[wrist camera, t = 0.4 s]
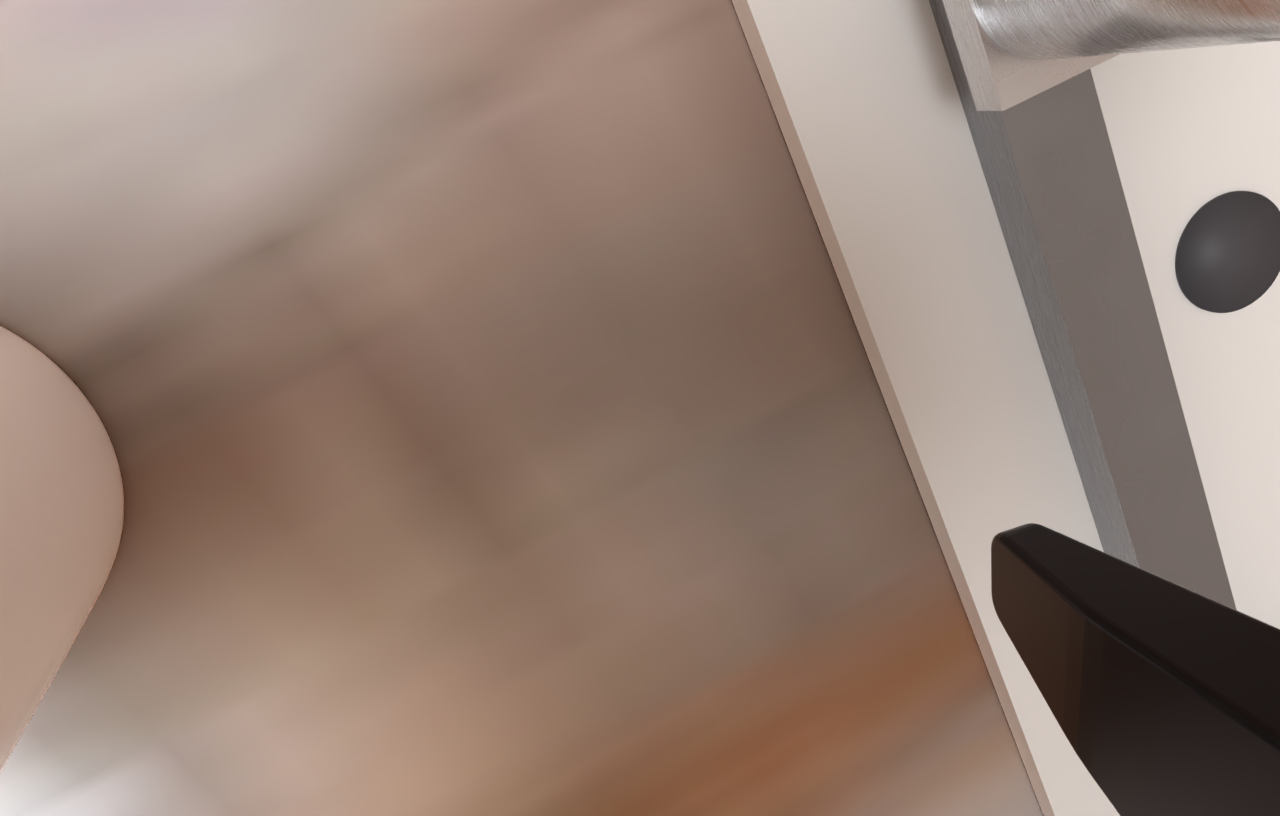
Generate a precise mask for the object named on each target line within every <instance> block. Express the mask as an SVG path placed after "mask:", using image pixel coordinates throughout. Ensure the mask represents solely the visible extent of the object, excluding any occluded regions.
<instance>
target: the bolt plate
mask: <svg viewBox="0 0 1280 816" xmlns="http://www.w3.org/2000/svg"><path fill="white" fill-rule="evenodd" d="M732 3H733V5H734V8H735V11H736V13H737V16H738V19H739V21H740V24H741V26H742V29H743V32H744V34H745V37H746V39H747V42H748V45H749V47H750V50H751V53H752V55H753V58H754V60H755V63H756V66H757V68H758V71H759V73H760V76H761V79H762V81H763V84H764V86H765V89H766V92H767V94H768V97H769V100H770V102H771V105H772V107H773V110H774V113H775V115H776V118H777V120H778V123H779V126H780V128H781V131H782V134H783V136H784V139H785V141H786V144H787V147H788V149H789V152H790V154H791V157H792V160H793V162H794V165H795V167H796V170H797V173H798V175H799V178H800V181H801V183H802V186H803V188H804V191H805V194H806V196H807V199H808V201H809V204H810V207H811V209H812V212H813V215H814V217H815V220H816V222H817V225H818V228H819V230H820V233H821V235H822V238H823V241H824V243H825V246H826V248H827V251H828V254H829V256H830V259H831V262H832V264H833V267H834V269H835V272H836V275H837V277H838V280H839V282H840V285H841V288H842V290H843V293H844V296H845V298H846V301H847V303H848V306H849V309H850V311H851V314H852V316H853V319H854V322H855V324H856V327H857V329H858V332H859V335H860V337H861V340H862V343H863V345H864V348H865V350H866V353H867V356H868V358H869V361H870V363H871V366H872V369H873V371H874V374H875V377H876V379H877V382H878V384H879V387H880V390H881V392H882V395H883V397H884V400H885V403H886V405H887V408H888V411H889V413H890V416H891V418H892V421H893V424H894V426H895V429H896V431H897V434H898V437H899V439H900V442H901V444H902V447H903V450H904V452H905V455H906V458H907V460H908V463H909V465H910V468H911V471H912V473H913V476H914V478H915V481H916V484H917V486H918V489H919V492H920V494H921V497H922V499H923V502H924V505H925V507H926V510H927V512H928V515H929V518H930V520H931V523H932V525H933V528H934V531H935V533H936V536H937V539H938V541H939V544H940V546H941V549H942V552H943V554H944V557H945V559H946V562H947V565H948V567H949V570H950V573H951V575H952V578H953V580H954V583H955V586H956V588H957V591H958V593H959V596H960V599H961V601H962V604H963V606H964V609H965V612H966V614H967V617H968V620H969V622H970V625H971V627H972V630H973V633H974V635H975V638H976V640H977V643H978V646H979V648H980V651H981V654H982V656H983V659H984V661H985V664H986V667H987V669H988V672H989V674H990V677H991V680H992V682H993V685H994V687H995V690H996V693H997V695H998V698H999V701H1000V703H1001V706H1002V708H1003V711H1004V714H1005V716H1006V719H1007V721H1008V724H1009V727H1010V729H1011V732H1012V735H1013V737H1014V740H1015V742H1016V745H1017V748H1018V750H1019V753H1020V755H1021V758H1022V761H1023V763H1024V766H1025V769H1026V771H1027V774H1028V776H1029V779H1030V782H1031V784H1032V787H1033V789H1034V792H1035V795H1036V797H1037V800H1038V802H1039V805H1040V808H1041V810H1042V813H1043V816H1120V815H1119V813H1118V812H1117V811H1116V809H1115V808H1114V806H1113V805H1112V804H1111V802H1110V801H1109V800H1108V798H1107V797H1106V795H1105V794H1104V793H1103V791H1102V790H1101V788H1100V787H1099V786H1098V784H1097V783H1096V782H1095V780H1094V779H1093V777H1092V776H1091V775H1090V773H1089V772H1088V770H1087V769H1086V767H1085V766H1084V764H1083V763H1082V761H1081V760H1080V758H1079V757H1078V756H1077V754H1076V752H1075V751H1074V749H1073V747H1072V746H1071V744H1070V742H1069V741H1068V739H1067V737H1066V736H1065V734H1064V733H1063V731H1062V729H1061V727H1060V726H1059V724H1058V722H1057V720H1056V719H1055V717H1054V715H1053V713H1052V711H1051V710H1050V708H1049V706H1048V704H1047V703H1046V701H1045V699H1044V697H1043V696H1042V694H1041V692H1040V690H1039V689H1038V687H1037V685H1036V683H1035V682H1034V680H1033V678H1032V676H1031V675H1030V673H1029V671H1028V669H1027V668H1026V666H1025V664H1024V662H1023V661H1022V659H1021V657H1020V655H1019V654H1018V652H1017V650H1016V648H1015V647H1014V645H1013V643H1012V641H1011V640H1010V638H1009V636H1008V634H1007V633H1006V631H1005V629H1004V627H1003V626H1002V624H1001V622H1000V620H999V618H998V616H997V614H996V611H995V608H994V605H993V601H992V593H991V544H992V540H993V538H994V536H995V535H997V534H998V533H1000V532H1003V531H1006V530H1009V529H1012V528H1015V527H1018V526H1021V525H1025V524H1028V523H1035V524H1040V525H1043V526H1045V527H1047V528H1050V529H1052V530H1054V531H1056V532H1059V533H1061V534H1063V535H1066V536H1068V537H1070V538H1072V539H1075V540H1077V541H1079V542H1082V543H1084V544H1086V545H1088V546H1091V547H1093V548H1095V549H1098V550H1100V551H1102V552H1104V551H1103V548H1102V544H1101V541H1100V538H1099V535H1098V532H1097V529H1096V526H1095V522H1094V519H1093V516H1092V513H1091V510H1090V507H1089V504H1088V500H1087V497H1086V494H1085V491H1084V488H1083V485H1082V481H1081V478H1080V475H1079V472H1078V469H1077V466H1076V463H1075V459H1074V456H1073V453H1072V450H1071V447H1070V444H1069V441H1068V437H1067V434H1066V431H1065V428H1064V425H1063V422H1062V418H1061V415H1060V412H1059V409H1058V406H1057V403H1056V400H1055V396H1054V393H1053V390H1052V387H1051V384H1050V381H1049V378H1048V374H1047V371H1046V368H1045V365H1044V362H1043V359H1042V355H1041V352H1040V349H1039V346H1038V343H1037V340H1036V337H1035V333H1034V330H1033V327H1032V324H1031V321H1030V318H1029V315H1028V311H1027V308H1026V305H1025V302H1024V299H1023V296H1022V293H1021V289H1020V286H1019V283H1018V280H1017V277H1016V274H1015V270H1014V267H1013V264H1012V261H1011V258H1010V255H1009V252H1008V248H1007V245H1006V242H1005V239H1004V236H1003V233H1002V230H1001V226H1000V223H999V220H998V217H997V214H996V211H995V207H994V204H993V201H992V198H991V195H990V192H989V189H988V185H987V182H986V179H985V176H984V173H983V170H982V167H981V163H980V160H979V157H978V154H977V151H976V148H975V144H974V141H973V138H972V135H971V132H970V129H969V126H968V122H967V119H966V116H965V113H964V110H963V107H962V104H961V100H960V97H959V94H958V91H957V88H956V85H955V81H954V78H953V75H952V72H951V69H950V66H949V63H948V59H947V56H946V53H945V50H944V47H943V44H942V41H941V37H940V34H939V31H938V28H937V25H936V22H935V18H934V15H933V12H932V9H931V6H930V3H929V0H732ZM1090 69H1091V73H1092V76H1093V80H1094V84H1095V88H1096V91H1097V95H1098V99H1099V102H1100V106H1101V110H1102V113H1103V117H1104V121H1105V125H1106V128H1107V132H1108V136H1109V139H1110V143H1111V147H1112V150H1113V154H1114V158H1115V162H1116V165H1117V169H1118V173H1119V176H1120V180H1121V184H1122V188H1123V191H1124V195H1125V199H1126V202H1127V206H1128V210H1129V213H1130V217H1131V221H1132V225H1133V228H1134V232H1135V236H1136V239H1137V243H1138V247H1139V250H1140V254H1141V258H1142V262H1143V265H1144V269H1145V273H1146V276H1147V280H1148V284H1149V287H1150V291H1151V295H1152V299H1153V302H1154V306H1155V310H1156V313H1157V317H1158V321H1159V324H1160V328H1161V332H1162V336H1163V339H1164V343H1165V347H1166V350H1167V354H1168V358H1169V361H1170V365H1171V369H1172V373H1173V376H1174V380H1175V384H1176V387H1177V391H1178V395H1179V399H1180V402H1181V406H1182V410H1183V413H1184V417H1185V421H1186V424H1187V428H1188V432H1189V436H1190V439H1191V443H1192V447H1193V450H1194V454H1195V458H1196V461H1197V465H1198V469H1199V473H1200V476H1201V480H1202V484H1203V487H1204V491H1205V495H1206V498H1207V502H1208V506H1209V510H1210V513H1211V517H1212V521H1213V524H1214V528H1215V532H1216V535H1217V539H1218V543H1219V547H1220V550H1221V554H1222V558H1223V561H1224V565H1225V569H1226V572H1227V576H1228V580H1229V584H1230V587H1231V591H1232V595H1233V598H1234V602H1235V606H1236V609H1237V611H1239V612H1242V613H1244V614H1246V615H1249V616H1251V617H1253V618H1255V619H1258V620H1260V621H1262V622H1265V623H1267V624H1269V625H1271V626H1274V627H1276V628H1278V629H1280V41H1272V42H1260V43H1247V44H1235V45H1223V46H1211V47H1198V48H1186V49H1174V50H1162V51H1150V52H1137V53H1125V54H1119V55H1117V56H1115V57H1113V58H1111V59H1109V60H1107V61H1105V62H1103V63H1101V64H1099V65H1096V66H1094V67H1092V68H1090Z"/></svg>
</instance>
